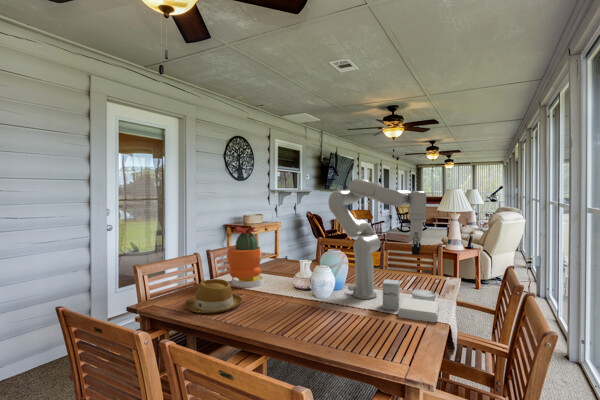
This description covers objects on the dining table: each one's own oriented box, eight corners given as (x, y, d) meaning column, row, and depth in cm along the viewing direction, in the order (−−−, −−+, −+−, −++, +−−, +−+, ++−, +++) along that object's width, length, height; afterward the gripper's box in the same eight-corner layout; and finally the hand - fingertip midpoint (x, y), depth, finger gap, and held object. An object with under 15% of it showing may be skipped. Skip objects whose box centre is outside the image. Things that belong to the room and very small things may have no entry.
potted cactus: (244, 277, 218) (243, 223, 217) (270, 282, 205) (269, 225, 204) (219, 285, 201) (217, 227, 199) (245, 291, 188) (244, 229, 186)
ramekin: (437, 308, 159) (437, 297, 159) (413, 306, 161) (413, 295, 161) (433, 300, 170) (433, 289, 170) (410, 298, 172) (410, 288, 172)
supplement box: (382, 309, 158) (382, 282, 158) (384, 303, 165) (384, 278, 165) (398, 311, 156) (398, 284, 155) (399, 305, 162) (399, 280, 162)
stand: (398, 317, 148) (398, 308, 148) (403, 305, 163) (403, 297, 163) (437, 322, 142) (437, 313, 141) (438, 309, 156) (438, 301, 156)
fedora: (215, 293, 187) (215, 272, 186) (253, 302, 170) (253, 280, 170) (173, 307, 165) (172, 284, 165) (212, 320, 149) (211, 294, 148)
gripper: (410, 215, 167) (409, 248, 168) (407, 218, 151) (406, 255, 153) (426, 215, 164) (425, 250, 165) (424, 219, 149) (423, 257, 150)
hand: (416, 252), depth 159 cm, fingers open, 9 cm apart
